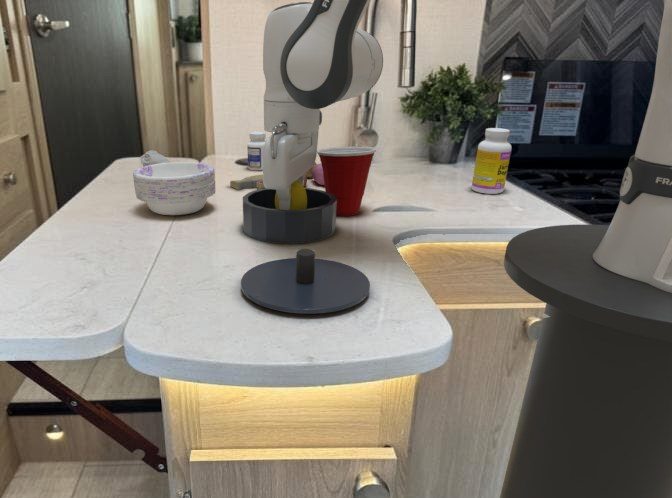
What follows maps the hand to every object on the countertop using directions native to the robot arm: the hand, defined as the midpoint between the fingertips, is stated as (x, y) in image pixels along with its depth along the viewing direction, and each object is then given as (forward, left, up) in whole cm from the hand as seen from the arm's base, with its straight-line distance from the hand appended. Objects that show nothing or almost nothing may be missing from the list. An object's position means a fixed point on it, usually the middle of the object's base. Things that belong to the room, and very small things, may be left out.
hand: (291, 203), depth 93 cm
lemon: (0, 0, -4) cm, 4 cm away
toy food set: (+8, -32, -5) cm, 33 cm away
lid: (-9, +24, -4) cm, 26 cm away
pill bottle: (+21, -45, -5) cm, 50 cm away
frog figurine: (+39, -25, -5) cm, 47 cm away
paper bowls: (+24, -5, -5) cm, 25 cm away
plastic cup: (-7, -13, -5) cm, 15 cm away
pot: (0, 0, -4) cm, 4 cm away
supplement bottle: (-34, -38, -5) cm, 51 cm away
